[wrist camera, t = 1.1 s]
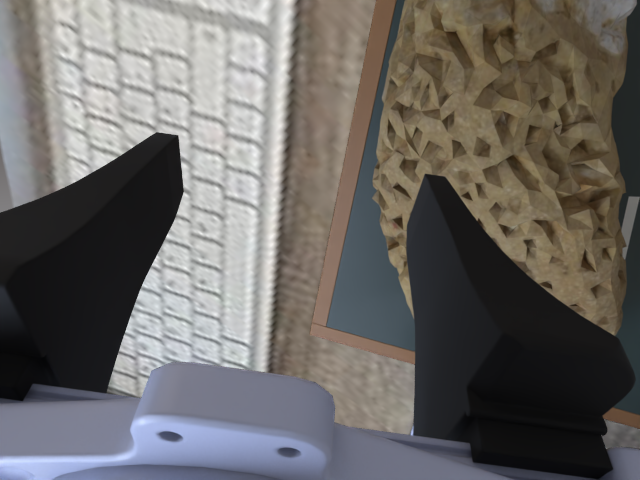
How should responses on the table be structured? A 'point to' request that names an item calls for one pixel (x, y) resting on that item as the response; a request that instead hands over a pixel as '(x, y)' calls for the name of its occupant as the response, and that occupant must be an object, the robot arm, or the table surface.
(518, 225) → the sponge
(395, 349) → the chalkboard
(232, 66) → the table surface
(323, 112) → the table surface
